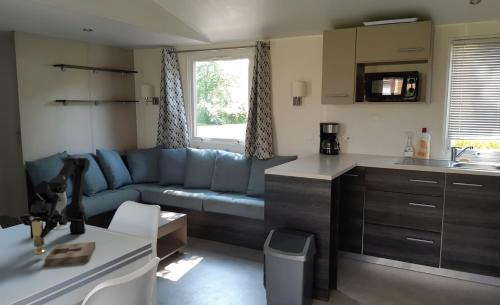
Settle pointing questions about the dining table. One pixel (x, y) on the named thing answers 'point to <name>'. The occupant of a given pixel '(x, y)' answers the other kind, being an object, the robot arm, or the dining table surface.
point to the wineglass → (60, 207)
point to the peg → (38, 236)
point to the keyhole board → (70, 254)
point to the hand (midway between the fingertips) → (36, 238)
